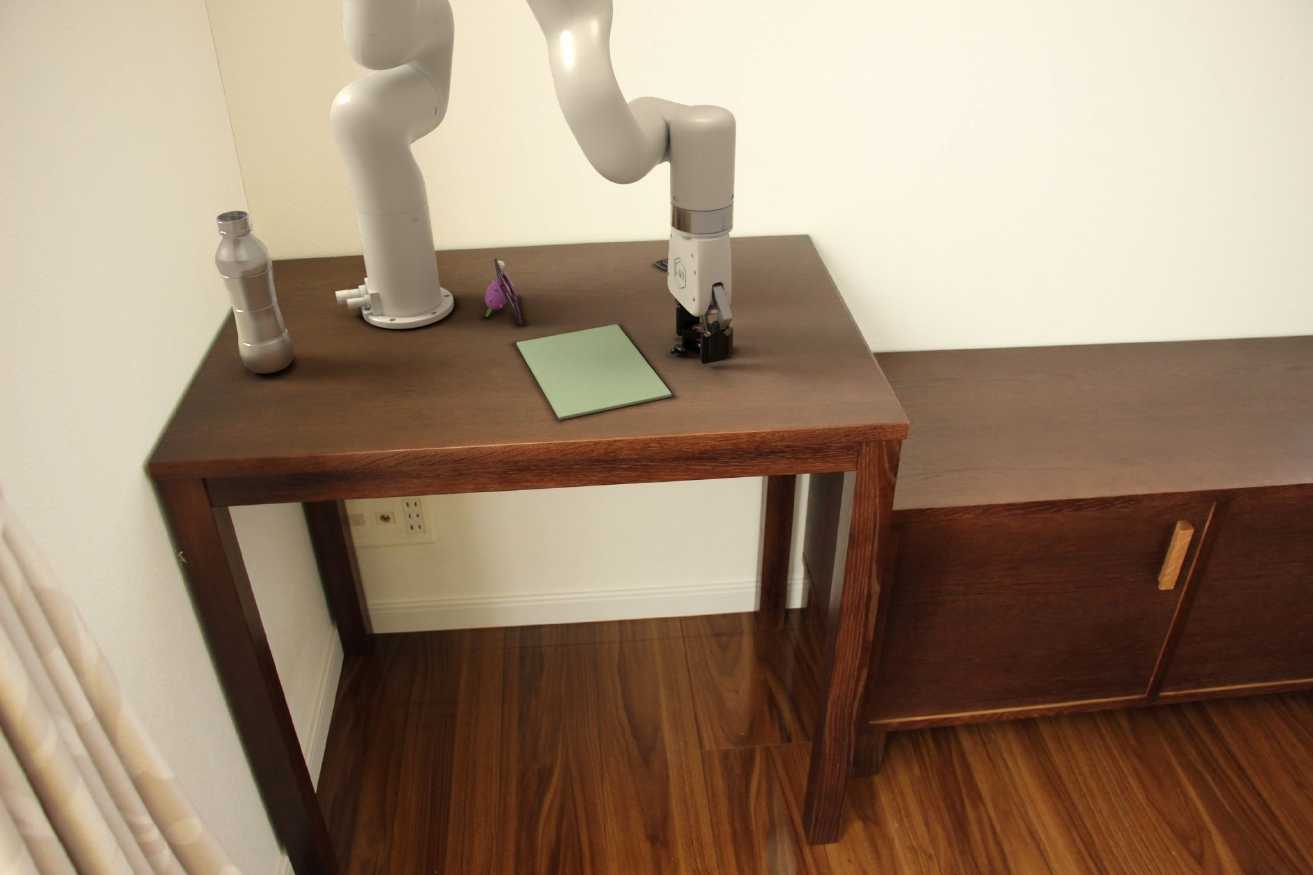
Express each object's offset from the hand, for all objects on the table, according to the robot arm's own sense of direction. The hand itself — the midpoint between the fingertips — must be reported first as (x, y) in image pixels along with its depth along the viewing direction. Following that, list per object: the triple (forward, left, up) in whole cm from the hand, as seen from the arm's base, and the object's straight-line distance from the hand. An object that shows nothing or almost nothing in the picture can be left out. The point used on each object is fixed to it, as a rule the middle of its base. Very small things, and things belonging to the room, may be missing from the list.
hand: (700, 346), depth 127 cm
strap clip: (+9, +28, -1) cm, 29 cm away
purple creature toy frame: (-21, +21, -1) cm, 30 cm away
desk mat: (-15, +1, -1) cm, 15 cm away
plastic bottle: (-52, +17, -1) cm, 55 cm away
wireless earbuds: (0, 0, -1) cm, 1 cm away
